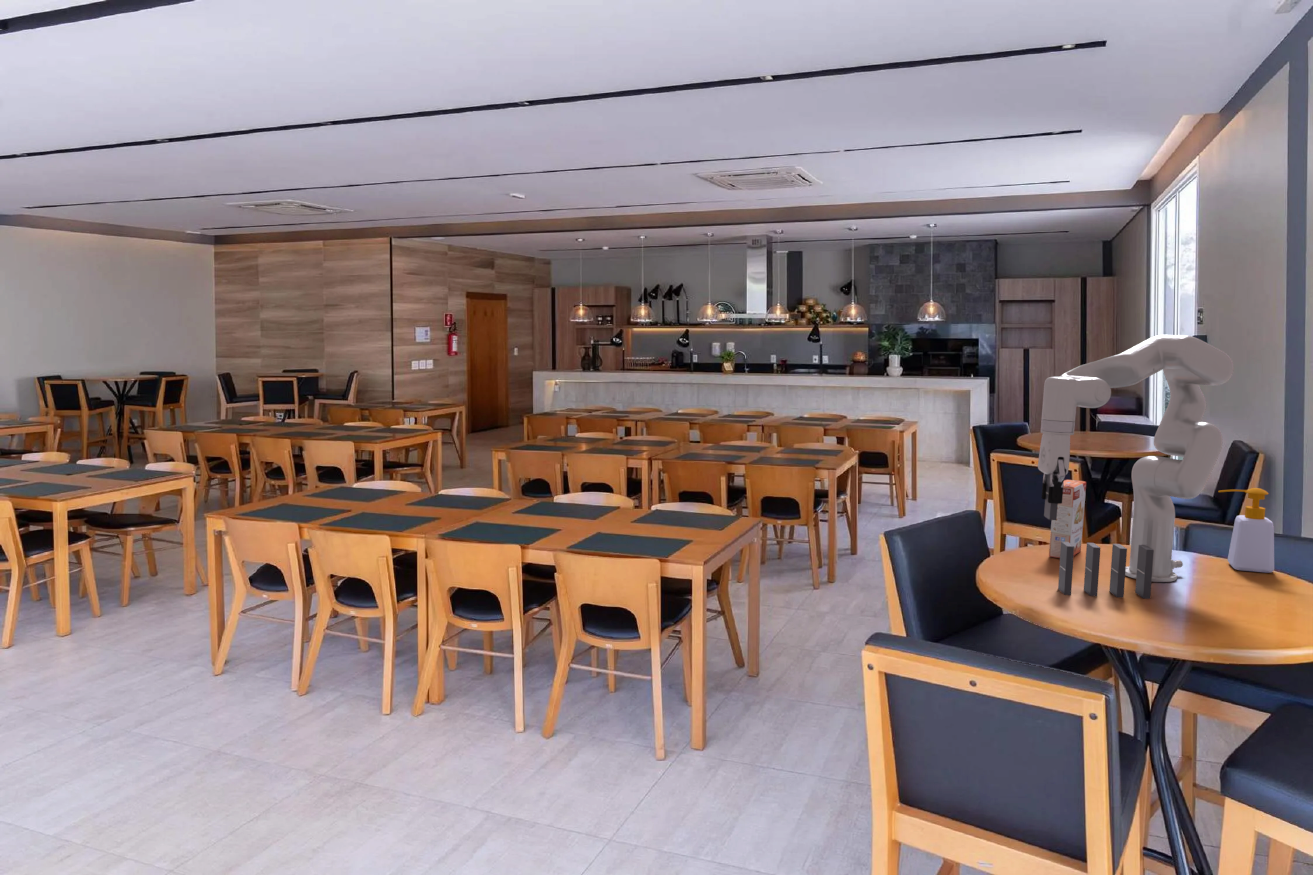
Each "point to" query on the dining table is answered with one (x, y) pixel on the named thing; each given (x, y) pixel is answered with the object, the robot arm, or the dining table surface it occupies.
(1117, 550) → the domino
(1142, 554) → the domino
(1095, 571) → the domino
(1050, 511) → the domino
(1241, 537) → the soap bottle
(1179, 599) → the dining table surface
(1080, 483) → the cracker box
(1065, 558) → the domino
